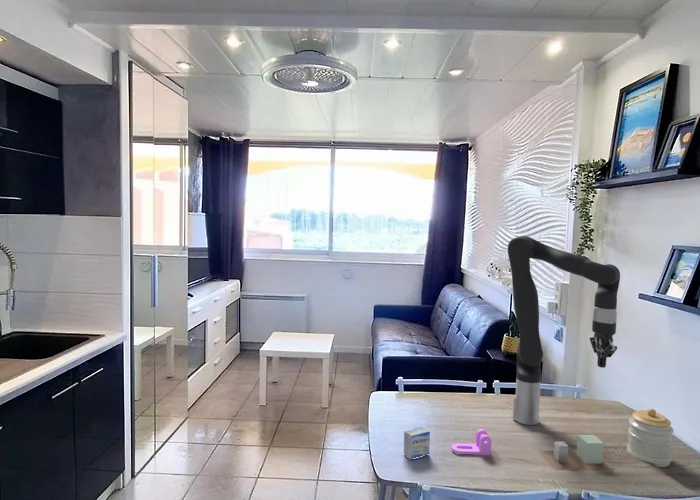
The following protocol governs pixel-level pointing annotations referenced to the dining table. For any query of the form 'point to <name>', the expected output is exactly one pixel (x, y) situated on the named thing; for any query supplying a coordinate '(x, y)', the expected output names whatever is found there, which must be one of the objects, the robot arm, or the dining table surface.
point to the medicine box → (416, 442)
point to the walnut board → (572, 462)
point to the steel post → (561, 451)
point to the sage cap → (590, 449)
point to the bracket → (475, 445)
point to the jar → (650, 437)
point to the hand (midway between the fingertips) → (601, 366)
